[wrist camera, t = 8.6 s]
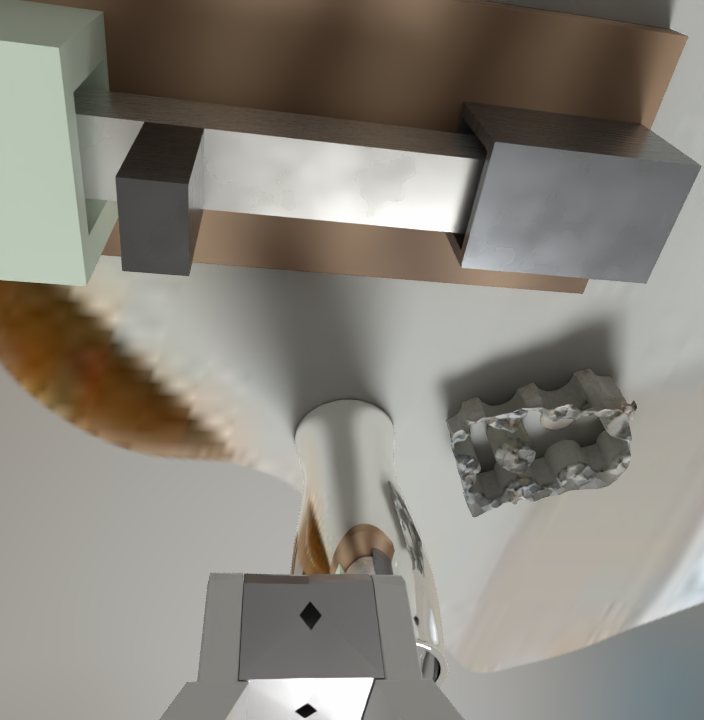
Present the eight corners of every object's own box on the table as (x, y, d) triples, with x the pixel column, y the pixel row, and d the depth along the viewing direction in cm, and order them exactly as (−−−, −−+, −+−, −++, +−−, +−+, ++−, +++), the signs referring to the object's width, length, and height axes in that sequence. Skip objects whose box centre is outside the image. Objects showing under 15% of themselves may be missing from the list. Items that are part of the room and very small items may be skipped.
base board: (670, 29, 27) (688, 36, 26) (572, 278, 34) (582, 293, 33) (-88, -87, 22) (-109, -85, 21) (-20, 228, 30) (-33, 244, 28)
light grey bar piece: (542, 141, 27) (624, 226, 21) (520, 210, 29) (589, 308, 22) (2, 77, 24) (-101, 154, 17) (16, 159, 25) (-72, 257, 19)
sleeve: (641, 123, 28) (701, 166, 24) (598, 230, 31) (646, 283, 27) (462, 100, 27) (495, 141, 23) (436, 214, 30) (460, 267, 26)
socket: (111, 4, 25) (58, 48, 19) (125, 201, 29) (86, 286, 23) (-59, -20, 24) (-172, 18, 18) (-17, 188, 28) (-95, 272, 23)
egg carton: (616, 355, 38) (648, 400, 35) (612, 444, 43) (640, 491, 39) (438, 395, 39) (453, 443, 35) (453, 478, 43) (467, 528, 40)
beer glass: (321, 376, 37) (341, 621, 25) (422, 415, 39) (485, 655, 27) (268, 456, 40) (263, 705, 28) (365, 487, 42) (398, 727, 31)
